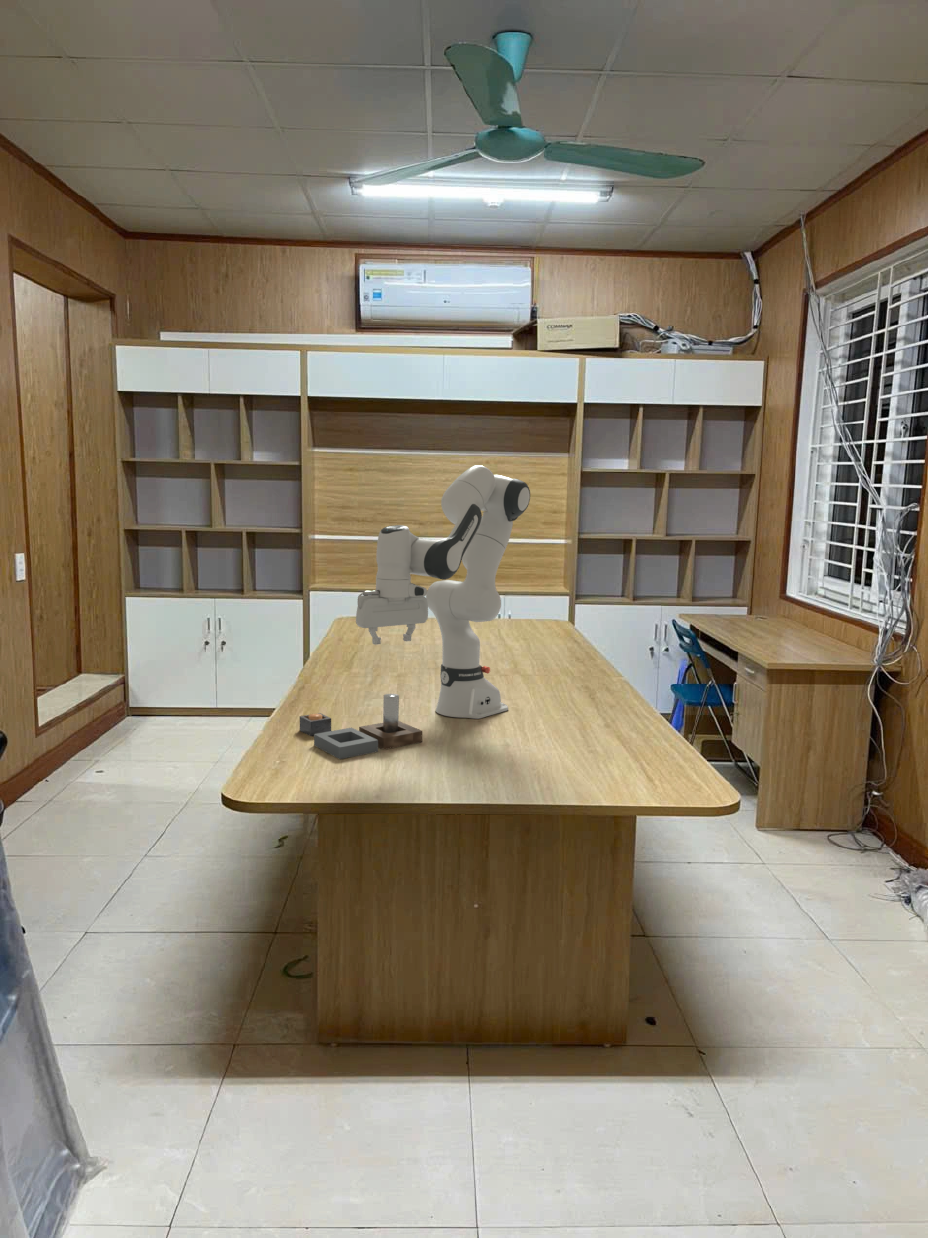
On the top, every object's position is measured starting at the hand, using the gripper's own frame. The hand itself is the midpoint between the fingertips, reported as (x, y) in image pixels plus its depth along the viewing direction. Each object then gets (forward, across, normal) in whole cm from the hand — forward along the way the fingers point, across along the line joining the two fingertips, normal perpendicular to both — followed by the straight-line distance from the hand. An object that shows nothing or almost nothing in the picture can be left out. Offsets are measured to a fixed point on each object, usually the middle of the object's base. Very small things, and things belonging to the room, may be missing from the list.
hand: (392, 642), depth 219 cm
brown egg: (+25, -13, +17) cm, 33 cm away
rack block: (+26, -13, 0) cm, 29 cm away
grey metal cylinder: (+26, 0, 0) cm, 26 cm away
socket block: (+26, 0, 0) cm, 26 cm away
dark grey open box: (+26, -13, +17) cm, 34 cm away
